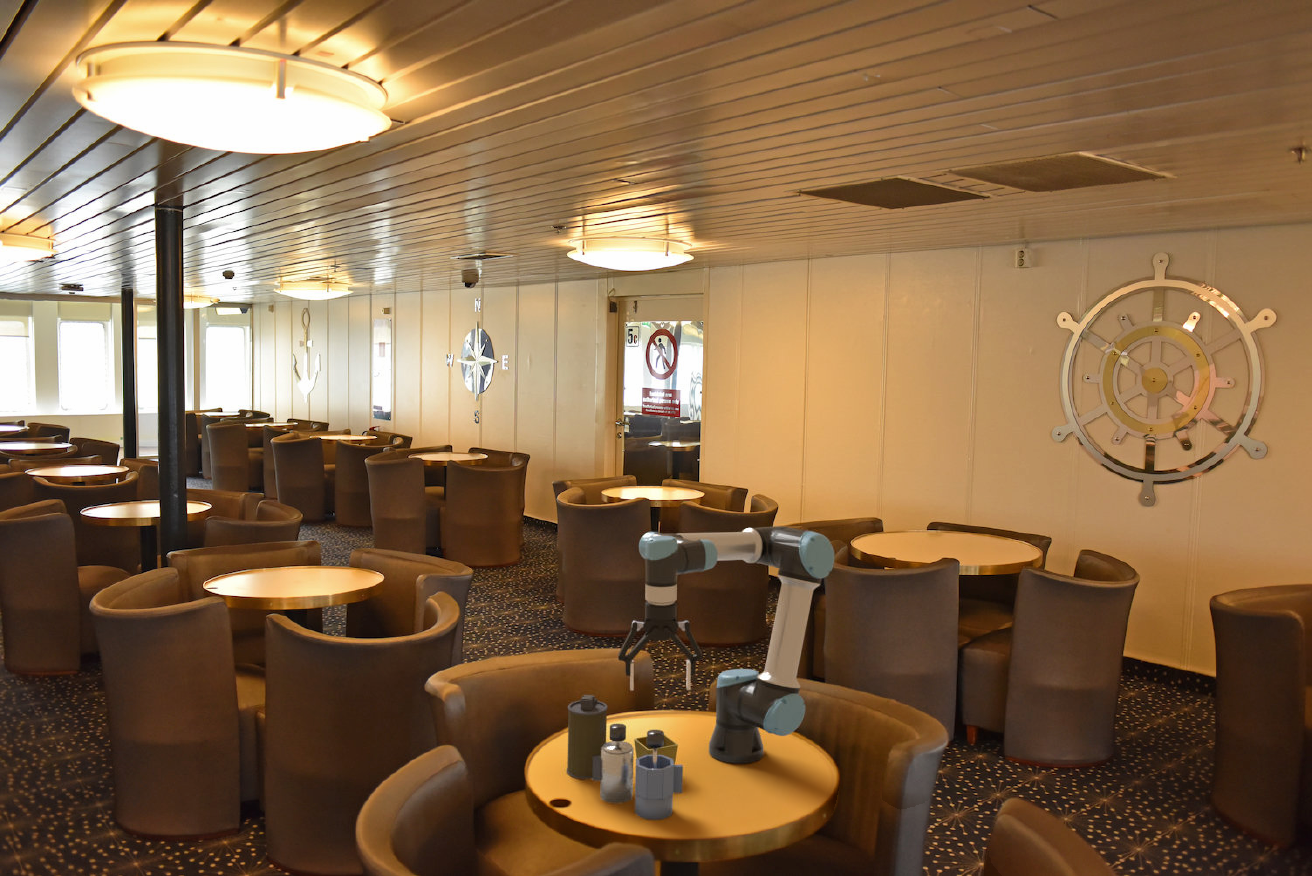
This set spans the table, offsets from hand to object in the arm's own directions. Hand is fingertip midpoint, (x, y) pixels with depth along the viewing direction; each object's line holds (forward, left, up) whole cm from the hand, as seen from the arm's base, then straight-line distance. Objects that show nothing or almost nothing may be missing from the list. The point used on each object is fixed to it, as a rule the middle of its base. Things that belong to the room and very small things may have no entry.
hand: (660, 688), depth 226 cm
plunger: (+1, +2, -24) cm, 24 cm away
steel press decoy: (+10, -6, -29) cm, 31 cm away
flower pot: (0, -19, -29) cm, 35 cm away
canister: (+18, -21, -29) cm, 40 cm away
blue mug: (0, +2, -29) cm, 29 cm away
